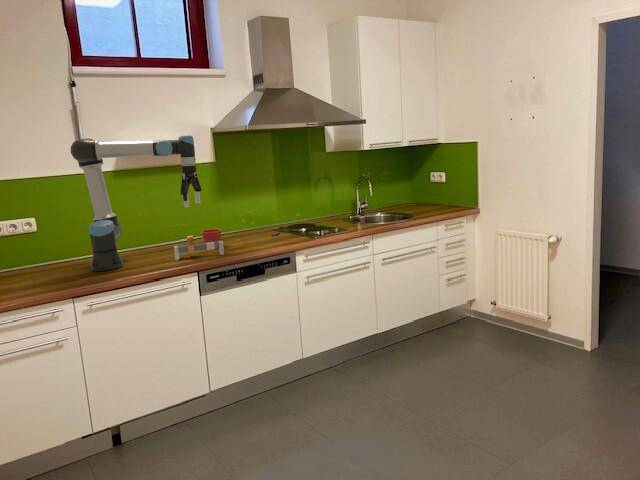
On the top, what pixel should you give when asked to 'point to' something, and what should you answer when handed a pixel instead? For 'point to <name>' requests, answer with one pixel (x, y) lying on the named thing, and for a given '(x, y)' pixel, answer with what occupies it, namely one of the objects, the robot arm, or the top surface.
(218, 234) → the flower pot
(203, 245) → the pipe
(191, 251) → the collar
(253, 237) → the top surface
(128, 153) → the robot arm
